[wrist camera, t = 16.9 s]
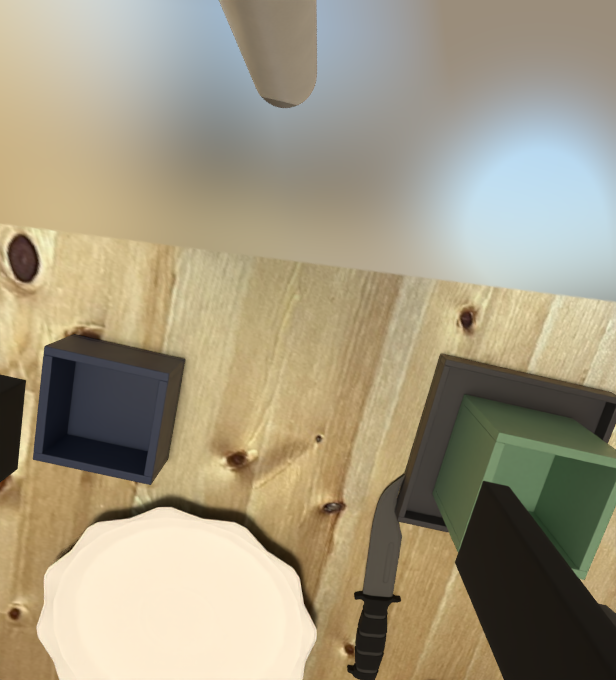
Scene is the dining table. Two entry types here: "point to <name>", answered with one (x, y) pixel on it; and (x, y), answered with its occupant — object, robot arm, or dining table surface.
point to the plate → (174, 603)
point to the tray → (497, 385)
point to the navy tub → (107, 408)
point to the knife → (378, 586)
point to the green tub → (530, 474)
